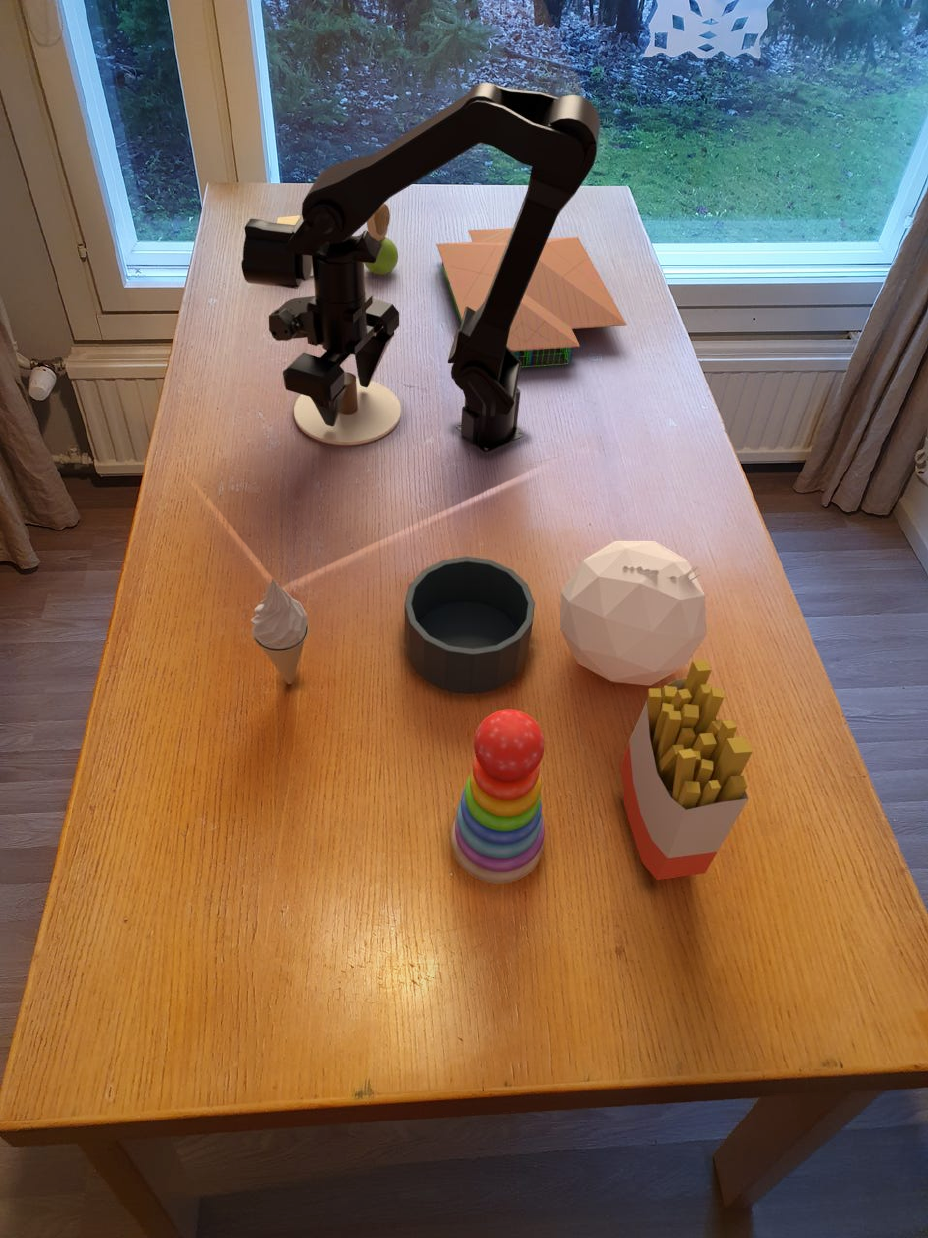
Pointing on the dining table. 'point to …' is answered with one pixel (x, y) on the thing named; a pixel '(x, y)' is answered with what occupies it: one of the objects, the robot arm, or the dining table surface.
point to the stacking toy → (502, 801)
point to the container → (468, 624)
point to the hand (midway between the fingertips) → (347, 404)
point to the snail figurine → (382, 242)
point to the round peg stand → (352, 414)
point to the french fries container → (683, 776)
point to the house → (533, 290)
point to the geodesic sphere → (633, 612)
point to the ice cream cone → (281, 629)
